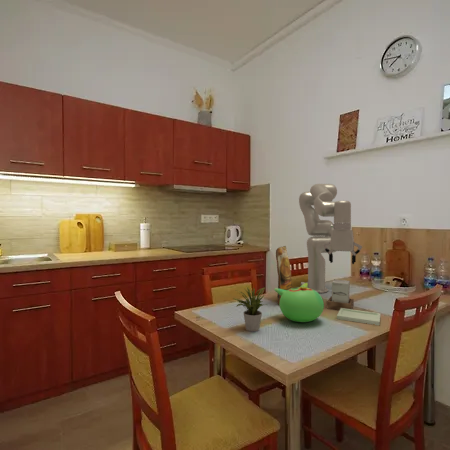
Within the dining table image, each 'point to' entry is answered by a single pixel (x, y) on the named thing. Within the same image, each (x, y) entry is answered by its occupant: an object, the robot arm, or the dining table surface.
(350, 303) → the caddy
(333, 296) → the supplement box
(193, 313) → the dining table surface
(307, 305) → the round teapot
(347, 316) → the tray
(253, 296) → the house plant
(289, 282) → the pancake mix bag
